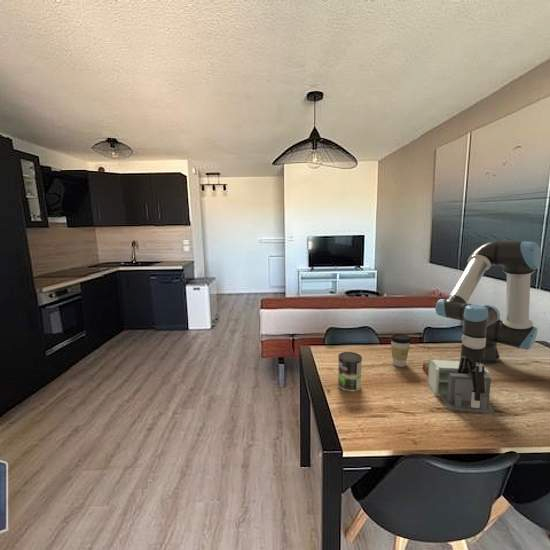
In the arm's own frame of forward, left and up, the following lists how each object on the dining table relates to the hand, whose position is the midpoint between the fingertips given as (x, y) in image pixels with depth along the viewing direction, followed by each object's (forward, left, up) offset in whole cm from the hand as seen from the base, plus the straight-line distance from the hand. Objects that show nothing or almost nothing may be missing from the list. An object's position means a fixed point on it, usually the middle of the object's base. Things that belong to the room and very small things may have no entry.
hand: (468, 399), depth 120 cm
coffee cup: (+18, -36, -3) cm, 40 cm away
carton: (0, -27, -4) cm, 27 cm away
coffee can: (+45, -11, -4) cm, 46 cm away
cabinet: (0, -7, -3) cm, 8 cm away
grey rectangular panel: (0, -1, -2) cm, 2 cm away
